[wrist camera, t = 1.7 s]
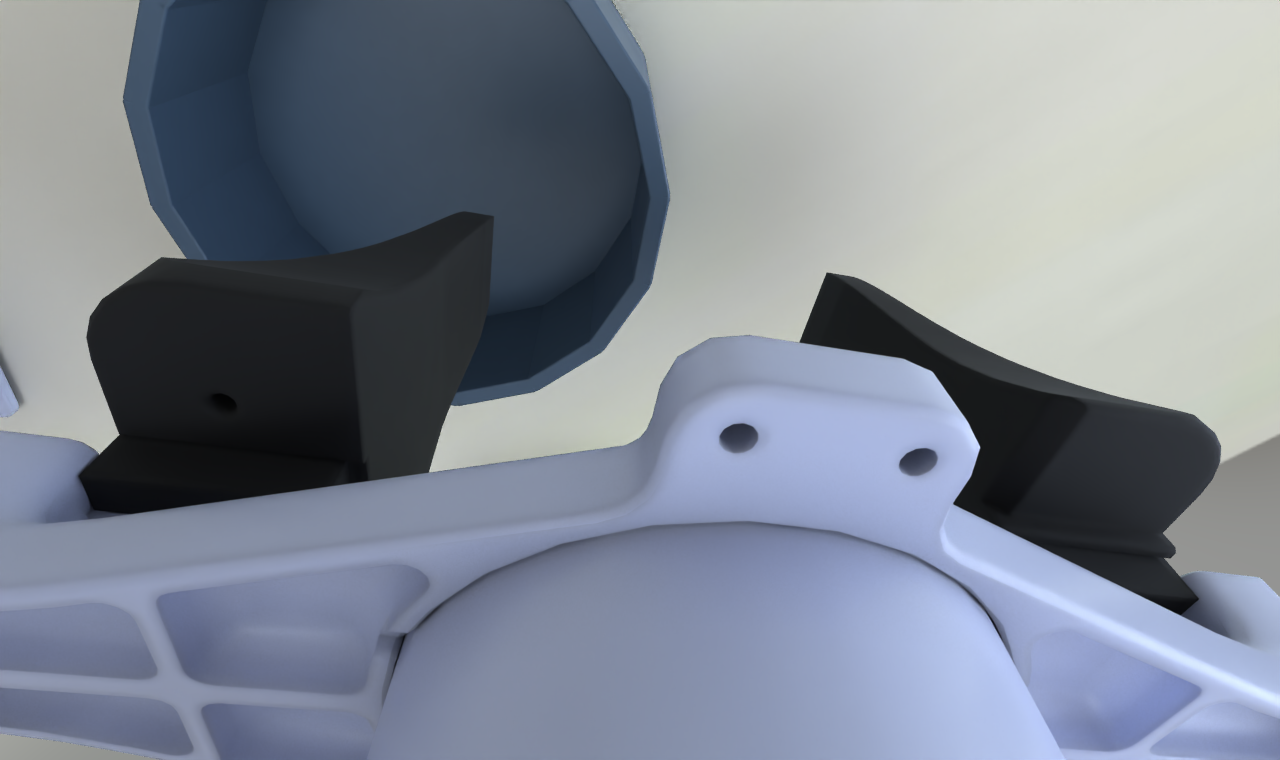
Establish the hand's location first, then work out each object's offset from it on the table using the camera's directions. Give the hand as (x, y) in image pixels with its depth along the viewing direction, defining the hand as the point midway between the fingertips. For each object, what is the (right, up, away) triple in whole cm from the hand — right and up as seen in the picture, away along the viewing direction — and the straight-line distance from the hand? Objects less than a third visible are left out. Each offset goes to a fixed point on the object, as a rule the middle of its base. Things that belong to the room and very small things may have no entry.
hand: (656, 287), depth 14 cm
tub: (-6, +5, +5) cm, 9 cm away
